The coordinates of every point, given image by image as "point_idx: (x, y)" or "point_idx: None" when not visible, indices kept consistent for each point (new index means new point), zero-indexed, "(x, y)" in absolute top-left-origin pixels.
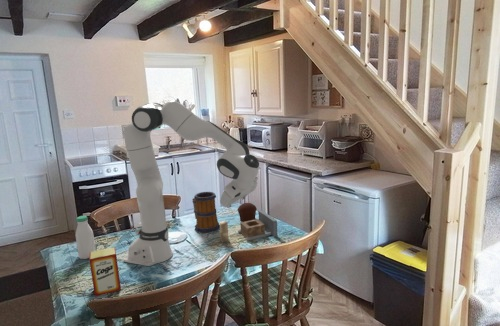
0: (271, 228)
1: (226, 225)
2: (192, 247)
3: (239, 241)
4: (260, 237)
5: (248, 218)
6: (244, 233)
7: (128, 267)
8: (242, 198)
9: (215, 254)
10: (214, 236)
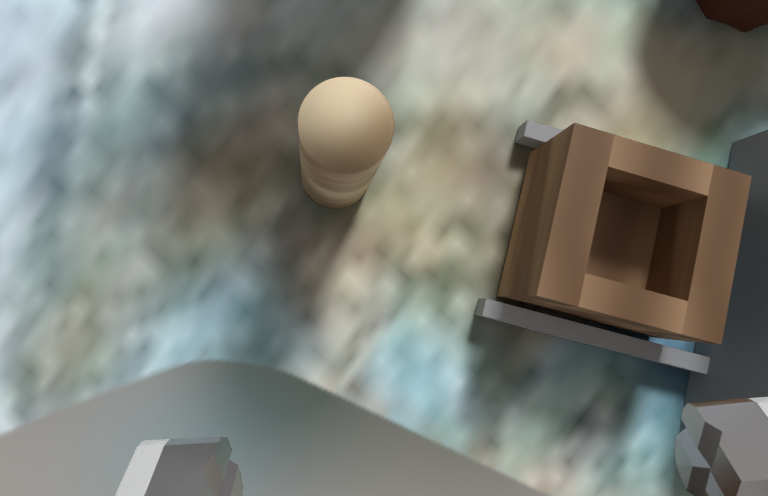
0: (737, 388)
1: (353, 175)
2: (49, 75)
3: (423, 273)
4: (596, 346)
5: (737, 4)
6: (522, 227)
7: None
8: (696, 479)
9: (121, 332)
10: (323, 34)
